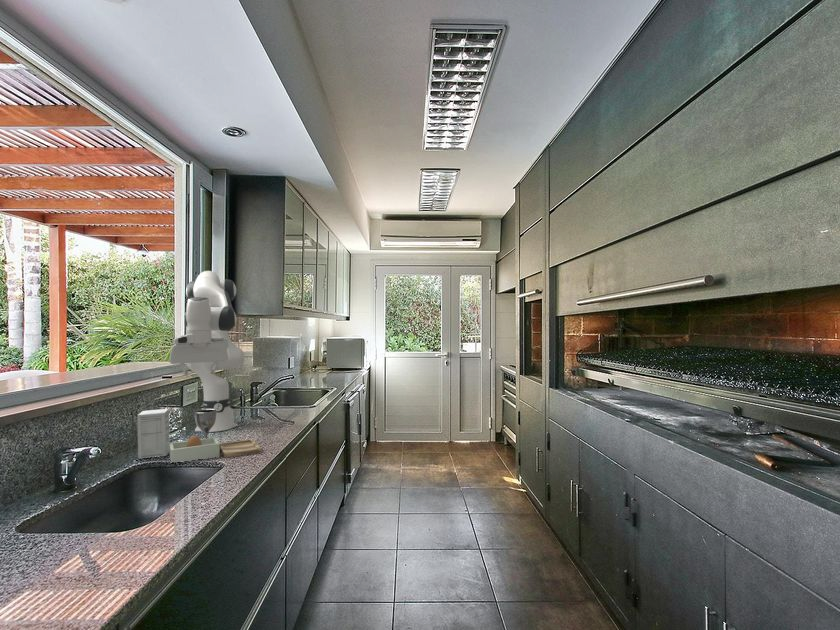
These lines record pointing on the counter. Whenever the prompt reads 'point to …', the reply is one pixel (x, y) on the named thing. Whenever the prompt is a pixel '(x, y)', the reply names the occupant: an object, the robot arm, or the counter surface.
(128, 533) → the counter surface
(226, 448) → the tray
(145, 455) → the supplement box
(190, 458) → the bin
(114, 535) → the counter surface
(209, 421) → the wine glass
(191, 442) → the egg
